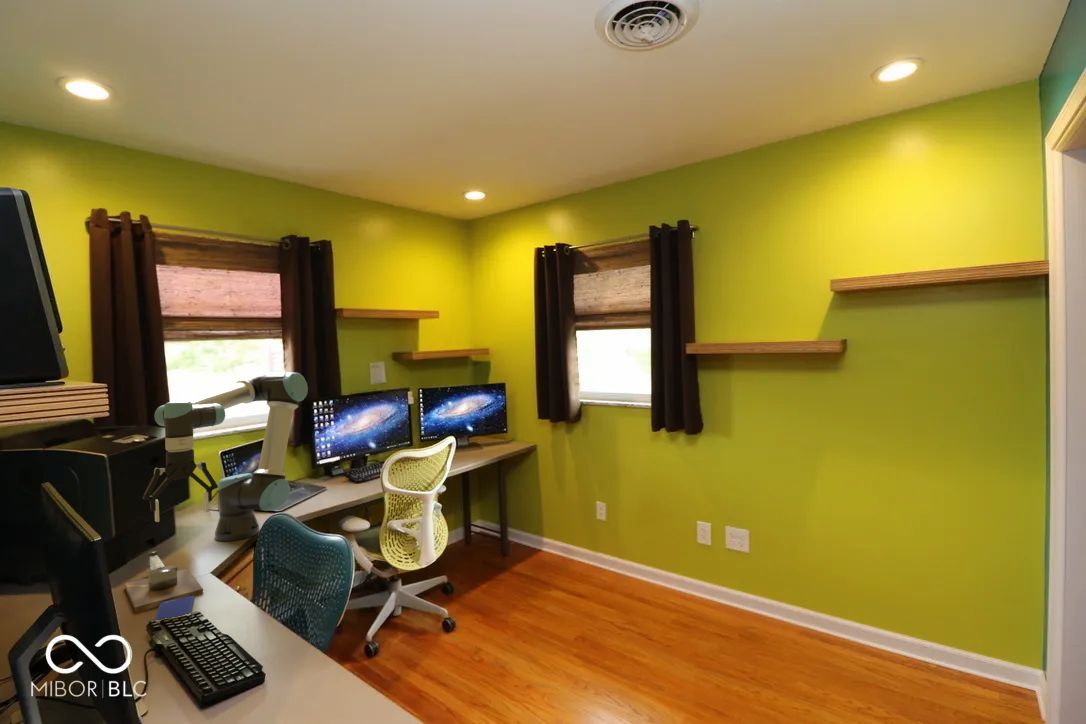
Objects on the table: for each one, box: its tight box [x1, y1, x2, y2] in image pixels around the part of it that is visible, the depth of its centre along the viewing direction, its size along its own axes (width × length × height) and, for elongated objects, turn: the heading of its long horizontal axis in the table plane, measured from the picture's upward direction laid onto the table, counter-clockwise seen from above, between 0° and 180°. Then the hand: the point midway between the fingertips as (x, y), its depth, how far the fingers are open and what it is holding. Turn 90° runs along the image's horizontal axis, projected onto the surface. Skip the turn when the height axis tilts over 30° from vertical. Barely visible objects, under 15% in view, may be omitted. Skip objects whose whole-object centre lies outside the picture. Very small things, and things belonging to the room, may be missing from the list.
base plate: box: [124, 567, 204, 613], centre depth 162 cm, size 16×22×2 cm
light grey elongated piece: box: [147, 550, 178, 590], centre depth 168 cm, size 23×7×5 cm, turn 43°
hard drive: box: [154, 596, 196, 621], centre depth 149 cm, size 2×8×12 cm
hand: (182, 516), depth 175 cm, fingers open, 13 cm apart
